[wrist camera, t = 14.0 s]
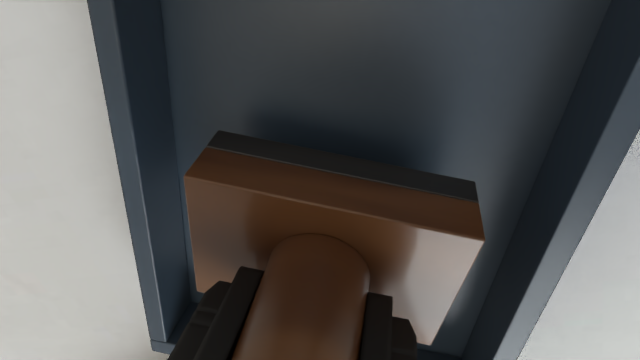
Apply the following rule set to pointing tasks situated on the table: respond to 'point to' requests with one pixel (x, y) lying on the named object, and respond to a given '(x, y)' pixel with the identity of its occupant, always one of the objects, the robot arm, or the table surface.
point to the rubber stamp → (327, 242)
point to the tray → (381, 125)
